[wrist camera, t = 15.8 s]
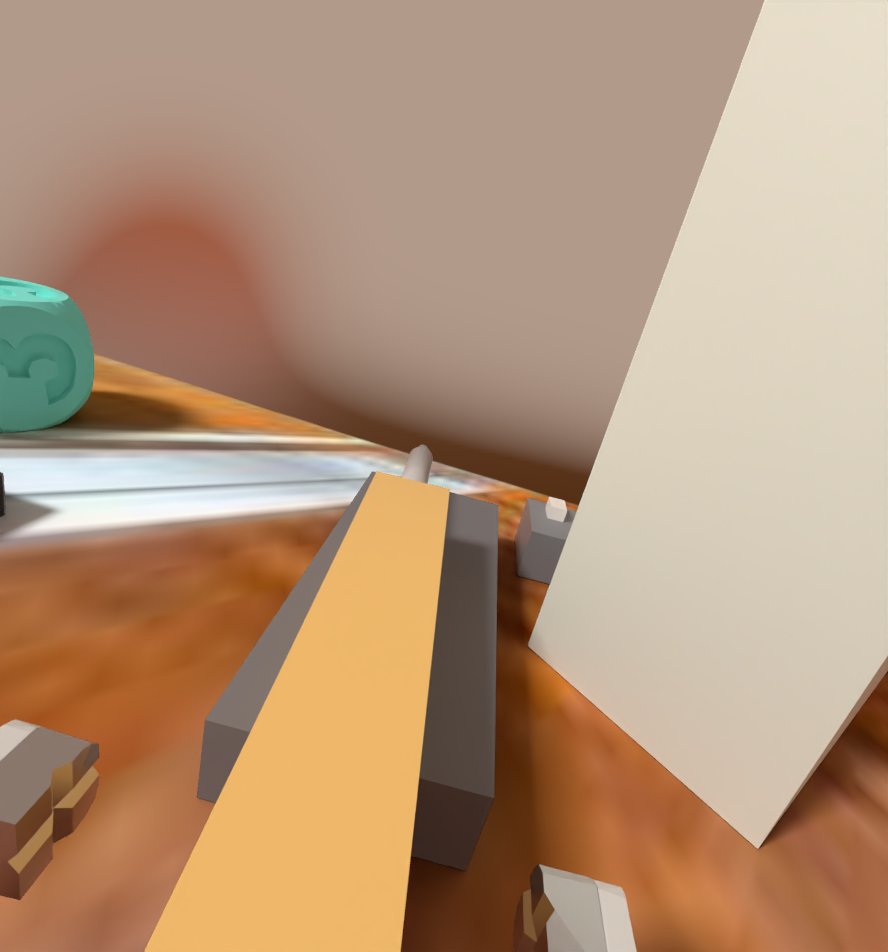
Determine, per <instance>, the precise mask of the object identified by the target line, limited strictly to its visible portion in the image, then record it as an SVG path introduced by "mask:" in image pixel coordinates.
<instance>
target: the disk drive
mask: <svg viewBox="0 0 888 952" xmlns="http://www.w3.org/2000/svg"><path fill="white" fill-rule="evenodd" d="M3 478H4V476H3V473H1V472H0V517H1V516H4V515H5V514H6V512H5V491H4V479H3Z"/></svg>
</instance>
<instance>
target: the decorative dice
mask: <svg viewBox="0 0 888 952" xmlns="http://www.w3.org/2000/svg"><path fill="white" fill-rule="evenodd" d="M93 380H94V355H93V347H92V343H91V338H90V333H89V330H88V327H87V324H86V321H85V319H84V317H83V315H82V313H81V311H80V309H79V308H78V306H77V305H76V304H75V302H74V301H73V300H72V299H70V297H69V296H68V295H67V294H65V293H63V292H61V291H59V290H56V289H53V288H50V287H47V286H43V285H40V284H35V283H31V282H27V281H22V280H16V279H12V278H6V277H0V432H21V431H31V430H39V429H44V428H49V427H52V426H56V425H58V424H61V423H63V422H65V421H66V420H67V419H69V418H70V417H72V416H73V415H74V414H75V413H76V412H77V411H78V410H79V409H80V408H81V407H82V406H83V405H84V404H85V403H86V401H87V400H88V398H89V396H90V393H91V390H92V386H93Z"/></svg>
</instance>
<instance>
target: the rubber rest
mask: <svg viewBox="0 0 888 952" xmlns="http://www.w3.org/2000/svg"><path fill="white" fill-rule="evenodd" d="M375 473H376V472H372V473H371V474H370V476H369V477H368V479H367V480H366V482H365V483H364V485H363V486H362V488H361V489H360V491H359V492H358V494H357V495H356V496H355V498H354V499H353V501H352V502H351V504H350V505H349V507H348V508H347V510H346V511H345V513H344V514H343V516H342V517H341V519H340V520H339V522H338V523H337V525H336V526H335V528H334V529H333V531H332V532H331V534H330V535H329V537H328V538H327V540H326V541H325V543H324V544H323V546H322V547H321V548H320V550H319V551H318V553H317V554H316V556H315V557H314V559H313V560H312V562H311V563H310V565H309V566H308V568H307V569H306V571H305V572H304V574H303V575H302V577H301V578H300V580H299V581H298V583H297V584H296V586H295V587H294V589H293V590H292V592H291V593H290V595H289V596H288V598H287V599H286V600H285V602H284V603H283V605H282V606H281V608H280V609H279V611H278V612H277V614H276V615H275V617H274V618H273V620H272V621H271V623H270V624H269V626H268V627H267V629H266V630H265V632H264V633H263V635H262V636H261V638H260V639H259V641H258V642H257V644H256V645H255V647H254V648H253V650H252V651H251V652H250V654H249V655H248V657H247V658H246V660H245V661H244V663H243V664H242V666H241V667H240V669H239V670H238V672H237V673H236V675H235V676H234V678H233V679H232V681H231V682H230V684H229V685H228V687H227V688H226V690H225V691H224V693H223V694H222V696H221V697H220V699H219V700H218V702H217V703H216V704H215V706H214V707H213V709H212V710H211V712H210V713H209V715H208V716H207V718H206V719H205V726H204V735H203V745H202V754H201V763H200V772H199V782H198V791H197V798H200V799H204V800H208V801H211V802H215V803H216V802H217V800H218V798H219V796H220V794H221V792H222V790H223V788H224V785H225V783H226V781H227V779H228V777H229V775H230V773H231V771H232V769H233V767H234V765H235V763H236V761H237V759H238V757H239V754H240V752H241V750H242V748H243V746H244V744H245V742H246V740H247V738H248V736H249V734H250V732H251V730H252V728H253V726H254V724H255V721H256V719H257V717H258V715H259V713H260V711H261V709H262V707H263V705H264V703H265V701H266V699H267V697H268V695H269V693H270V690H271V688H272V686H273V684H274V682H275V680H276V678H277V676H278V674H279V672H280V670H281V668H282V666H283V664H284V662H285V659H286V657H287V655H288V653H289V651H290V649H291V647H292V645H293V643H294V641H295V639H296V637H297V635H298V633H299V631H300V628H301V626H302V624H303V622H304V620H305V618H306V616H307V614H308V612H309V610H310V608H311V606H312V604H313V602H314V600H315V597H316V595H317V593H318V591H319V589H320V587H321V585H322V583H323V581H324V579H325V577H326V575H327V573H328V571H329V569H330V566H331V564H332V562H333V560H334V558H335V556H336V554H337V552H338V550H339V548H340V546H341V544H342V542H343V540H344V538H345V535H346V533H347V531H348V529H349V527H350V525H351V523H352V521H353V519H354V517H355V515H356V513H357V511H358V509H359V507H360V504H361V502H362V500H363V498H364V496H365V494H366V492H367V490H368V488H369V486H370V484H371V482H372V480H373V478H374V476H375ZM497 565H498V505H496V504H493V503H489V502H485V501H481V500H478V499H474V498H470V497H466V496H462V495H459V494H455V493H451V492H449V501H448V511H447V520H446V530H445V539H444V548H443V558H442V567H441V576H440V586H439V595H438V605H437V614H436V623H435V633H434V642H433V652H432V661H431V670H430V680H429V689H428V698H427V708H426V717H425V727H424V736H423V745H422V755H421V764H420V773H419V783H418V792H417V802H416V811H415V820H414V830H413V839H412V848H411V856H413V857H417V858H420V859H424V860H428V861H431V862H435V863H439V864H442V865H446V866H450V867H453V868H457V869H461V870H464V871H466V870H467V867H468V864H469V862H470V859H471V857H472V854H473V852H474V849H475V846H476V844H477V841H478V839H479V836H480V834H481V831H482V828H483V826H484V823H485V821H486V818H487V816H488V813H489V810H490V808H491V805H492V803H493V800H494V780H495V708H496V637H497Z"/></svg>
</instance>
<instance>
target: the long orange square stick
mask: <svg viewBox="0 0 888 952" xmlns="http://www.w3.org/2000/svg"><path fill="white" fill-rule="evenodd" d="M431 464H432V454H431V452H430V451H429V449H428V447H427V446H426V445H420V446H419V447H417V448H414V449H413V450H412V451H411V453H410V455H409V458H408V461H407V464H406V467H405V470H404V472H403V475H402V477H398V476H394V475H390V474H386V473H382V472H377V471H376V473H375V476H374V478H373V480H372V482H371V484H370V486H369V488H368V490H367V492H366V494H365V496H364V498H363V500H362V502H361V504H360V507H359V509H358V511H357V513H356V515H355V517H354V519H353V521H352V523H351V525H350V527H349V529H348V531H347V533H346V535H345V538H344V540H343V542H342V544H341V546H340V548H339V550H338V552H337V554H336V556H335V558H334V560H333V562H332V564H331V566H330V569H329V571H328V573H327V575H326V577H325V579H324V581H323V583H322V585H321V587H320V589H319V591H318V593H317V595H316V597H315V600H314V602H313V604H312V606H311V608H310V610H309V612H308V614H307V616H306V618H305V620H304V622H303V624H302V626H301V628H300V631H299V633H298V635H297V637H296V639H295V641H294V643H293V645H292V647H291V649H290V651H289V653H288V655H287V657H286V659H285V662H284V664H283V666H282V668H281V670H280V672H279V674H278V676H277V678H276V680H275V682H274V684H273V686H272V688H271V690H270V693H269V695H268V697H267V699H266V701H265V703H264V705H263V707H262V709H261V711H260V713H259V715H258V717H257V719H256V721H255V724H254V726H253V728H252V730H251V732H250V734H249V736H248V738H247V740H246V742H245V744H244V746H243V748H242V750H241V752H240V754H239V757H238V759H237V761H236V763H235V765H234V767H233V769H232V771H231V773H230V775H229V777H228V779H227V781H226V783H225V785H224V788H223V790H222V792H221V794H220V796H219V798H218V800H217V802H216V804H215V806H214V808H213V810H212V812H211V814H210V816H209V819H208V821H207V823H206V825H205V827H204V829H203V831H202V833H201V835H200V837H199V839H198V841H197V843H196V845H195V847H194V850H193V852H192V854H191V856H190V858H189V860H188V862H187V864H186V866H185V868H184V870H183V872H182V874H181V876H180V878H179V881H178V883H177V885H176V887H175V889H174V891H173V893H172V895H171V897H170V899H169V901H168V903H167V905H166V907H165V909H164V912H163V914H162V916H161V918H160V920H159V922H158V924H157V926H156V928H155V930H154V932H153V934H152V936H151V938H150V940H149V943H148V945H147V947H146V949H145V951H144V952H401V942H402V933H403V923H404V914H405V905H406V895H407V886H408V877H409V867H410V858H411V848H412V839H413V830H414V820H415V811H416V802H417V792H418V783H419V773H420V764H421V755H422V745H423V736H424V727H425V717H426V708H427V698H428V689H429V680H430V670H431V661H432V652H433V642H434V633H435V623H436V614H437V605H438V595H439V586H440V576H441V567H442V558H443V548H444V539H445V530H446V520H447V511H448V501H449V492H450V489H447V488H443V487H438V486H434V485H430V484H427V482H428V478H429V473H430V469H431Z"/></svg>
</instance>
